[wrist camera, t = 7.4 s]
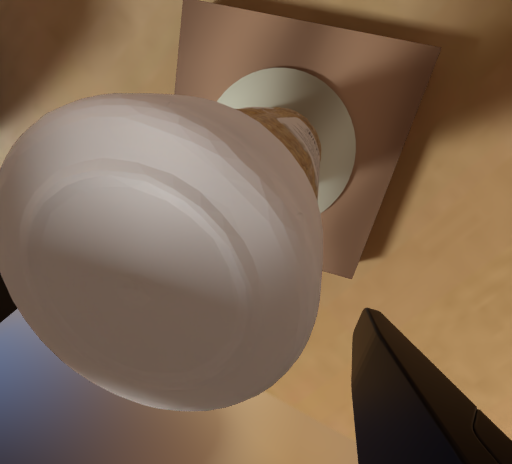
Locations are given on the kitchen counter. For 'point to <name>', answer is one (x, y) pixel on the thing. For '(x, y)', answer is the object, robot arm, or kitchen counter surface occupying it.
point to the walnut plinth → (315, 101)
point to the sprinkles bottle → (166, 244)
